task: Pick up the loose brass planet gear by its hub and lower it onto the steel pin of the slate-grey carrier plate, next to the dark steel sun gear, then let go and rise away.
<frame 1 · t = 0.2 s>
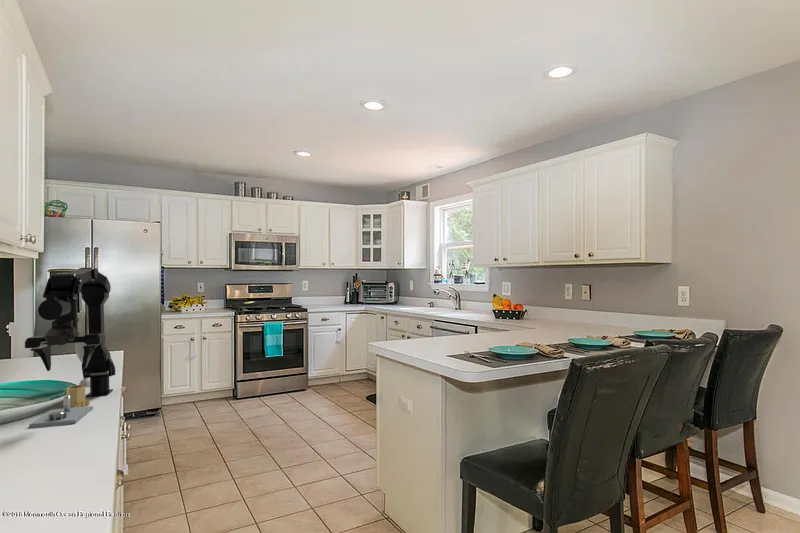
hand: (67, 369, 139), 14 cm above the worktop, fingers open, 9 cm apart
chalice: (86, 386, 177), on the worktop
planet gear: (76, 405, 151), on the worktop
carrier: (63, 417, 138), on the worktop
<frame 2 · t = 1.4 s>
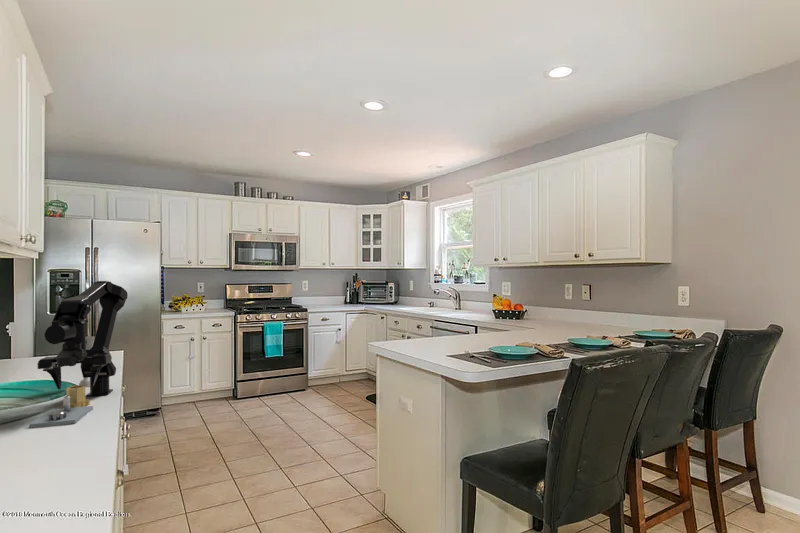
hand: (76, 387, 151), 6 cm above the worktop, fingers open, 9 cm apart
nothing on the worktop moved.
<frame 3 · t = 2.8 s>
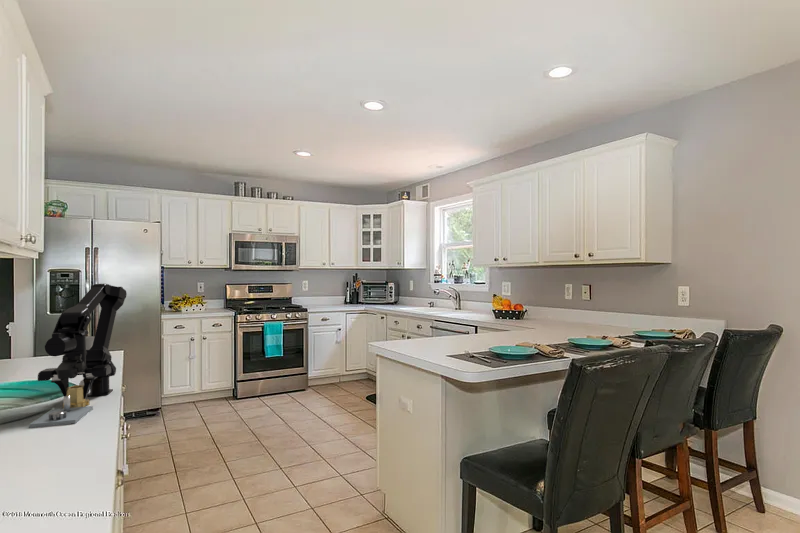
hand: (76, 399, 151), 2 cm above the worktop, fingers closed on planet gear, 5 cm apart
planet gear: (76, 405, 151), on the worktop, touching gripper
everything else where it was.
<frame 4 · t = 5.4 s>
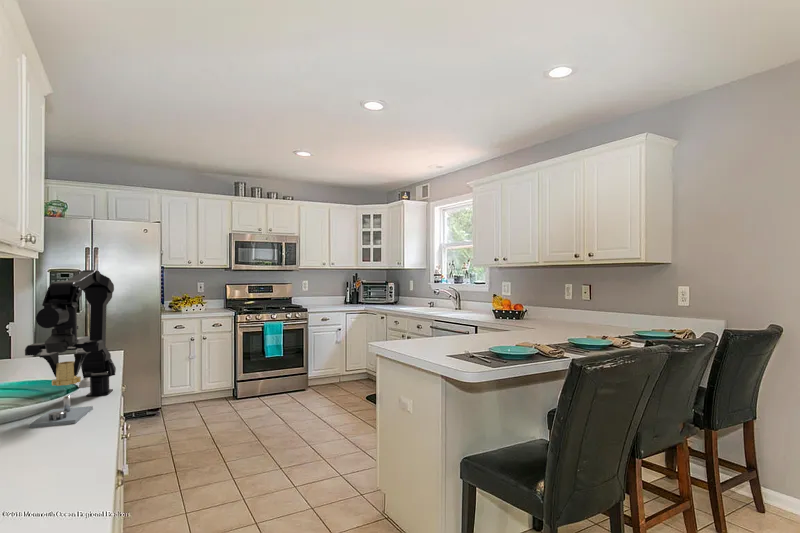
hand: (66, 376, 141), 12 cm above the worktop, fingers closed on planet gear, 5 cm apart
planet gear: (66, 382, 141), point 10 cm above the worktop, touching gripper
everything else where it was.
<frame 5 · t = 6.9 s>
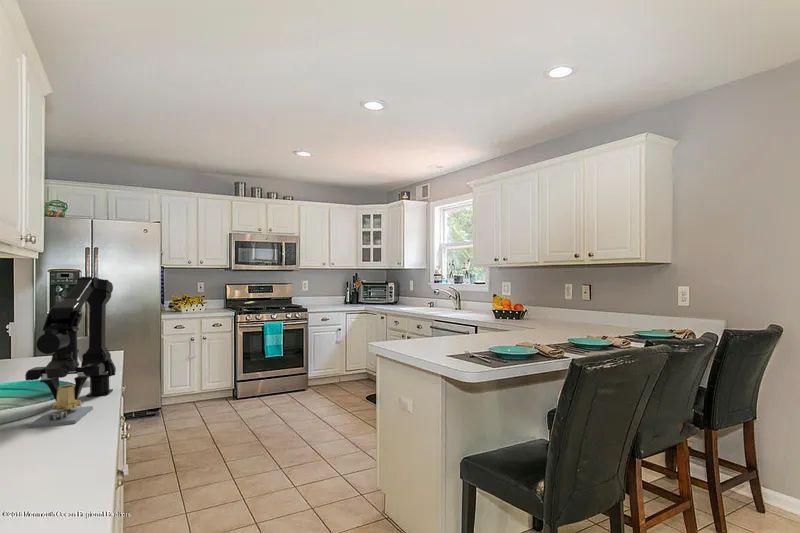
hand: (66, 400, 141), 4 cm above the worktop, fingers closed on planet gear, 5 cm apart
planet gear: (67, 406, 141), point 2 cm above the worktop, touching gripper
everything else where it was.
when the fingers open (4 cm above the worktop, at t = 8.0 s): planet gear drops 1 cm, resting on carrier.
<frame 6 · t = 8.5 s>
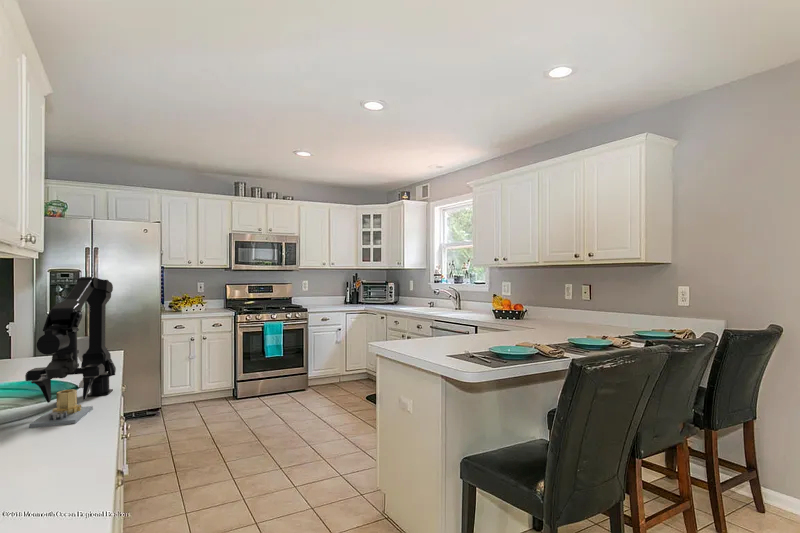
hand: (66, 400, 141), 4 cm above the worktop, fingers open, 9 cm apart
planet gear: (67, 411, 141), point 1 cm above the worktop, touching carrier
everything else where it was.
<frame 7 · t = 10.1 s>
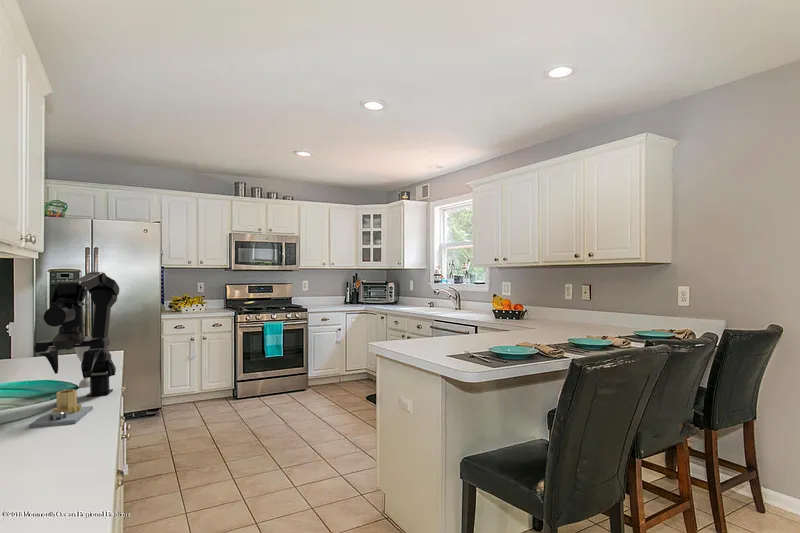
hand: (73, 372, 147), 12 cm above the worktop, fingers open, 9 cm apart
nothing on the worktop moved.
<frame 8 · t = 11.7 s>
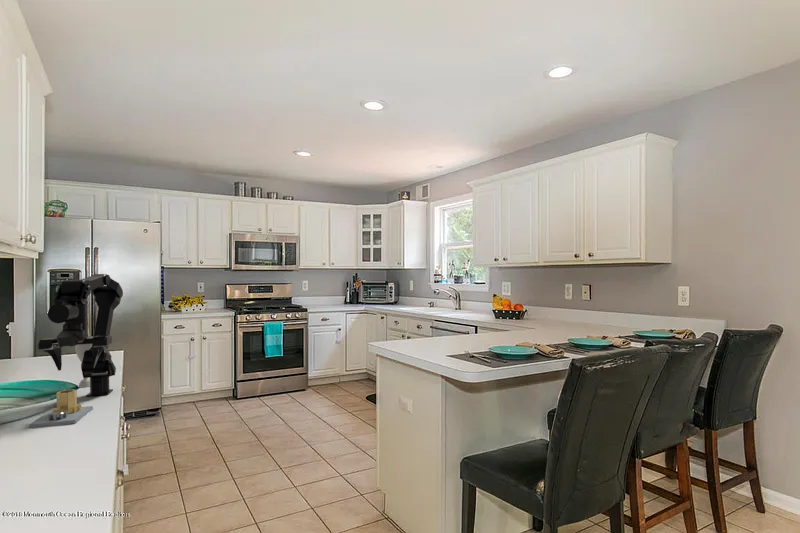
hand: (76, 369, 149), 12 cm above the worktop, fingers open, 9 cm apart
nothing on the worktop moved.
at the end: planet gear 0.0 cm from the target spot on the carrier, point 1.0 cm above the carrier's base; planet gear tilted 0°; the gripper is holding nothing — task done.
